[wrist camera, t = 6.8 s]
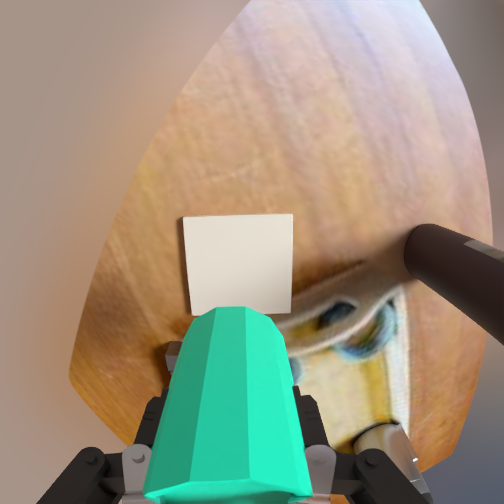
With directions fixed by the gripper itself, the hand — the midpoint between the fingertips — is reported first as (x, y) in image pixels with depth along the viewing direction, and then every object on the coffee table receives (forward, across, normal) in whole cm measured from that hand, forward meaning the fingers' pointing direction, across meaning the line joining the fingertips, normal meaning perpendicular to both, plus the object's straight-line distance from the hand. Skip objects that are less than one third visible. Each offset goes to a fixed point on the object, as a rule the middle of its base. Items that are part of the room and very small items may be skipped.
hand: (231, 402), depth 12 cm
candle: (+5, 0, 0) cm, 5 cm away
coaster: (+19, 0, 0) cm, 19 cm away
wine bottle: (+20, -23, -1) cm, 30 cm away
